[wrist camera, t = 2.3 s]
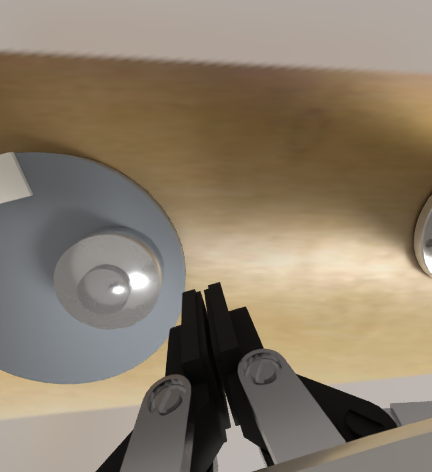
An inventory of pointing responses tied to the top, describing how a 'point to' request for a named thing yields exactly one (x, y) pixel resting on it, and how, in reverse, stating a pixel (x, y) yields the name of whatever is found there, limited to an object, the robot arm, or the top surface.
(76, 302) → the cover
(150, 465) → the robot arm
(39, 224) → the turntable
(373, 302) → the top surface
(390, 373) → the top surface
